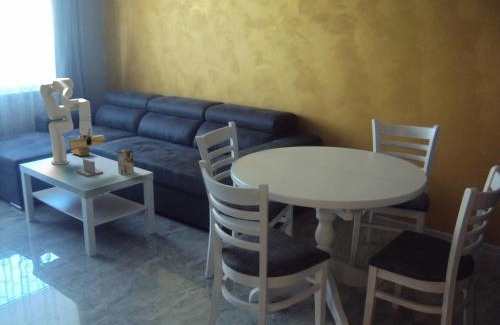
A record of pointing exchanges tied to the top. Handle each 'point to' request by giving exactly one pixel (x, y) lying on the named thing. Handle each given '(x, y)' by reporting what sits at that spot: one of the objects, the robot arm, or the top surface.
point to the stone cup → (81, 150)
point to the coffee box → (125, 161)
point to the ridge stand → (89, 168)
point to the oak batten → (83, 142)
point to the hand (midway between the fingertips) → (87, 143)
